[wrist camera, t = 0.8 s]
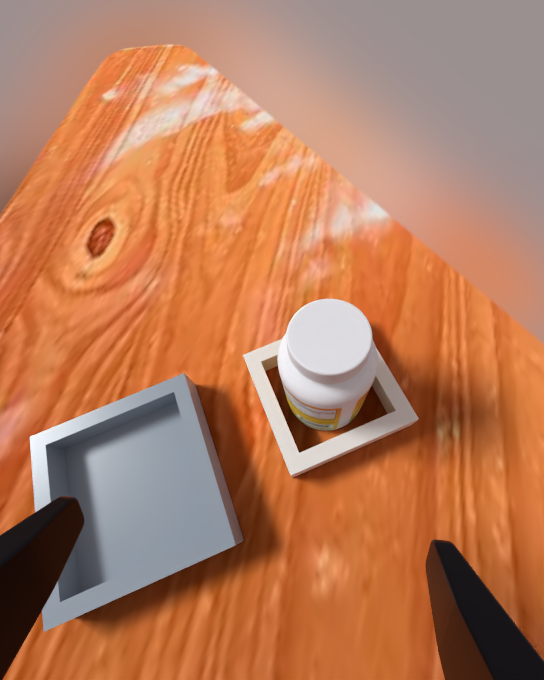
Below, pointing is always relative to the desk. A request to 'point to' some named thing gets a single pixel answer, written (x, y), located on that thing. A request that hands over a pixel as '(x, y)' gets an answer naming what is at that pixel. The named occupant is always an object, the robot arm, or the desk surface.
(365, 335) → the supplement bottle
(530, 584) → the desk surface
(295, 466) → the holder collar
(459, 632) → the robot arm
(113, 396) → the desk surface
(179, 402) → the tray
